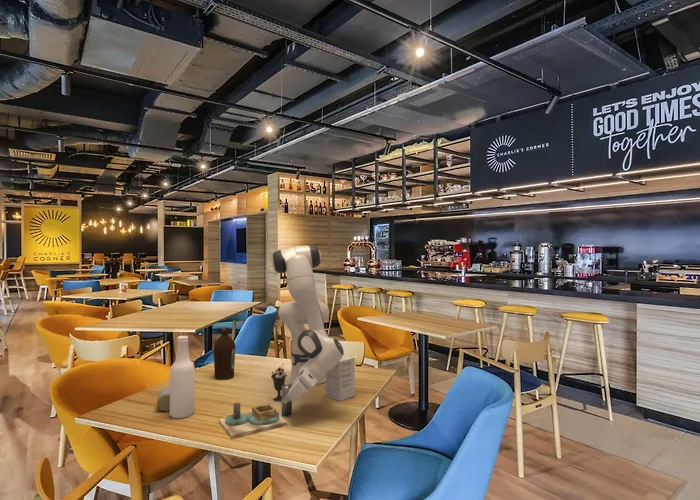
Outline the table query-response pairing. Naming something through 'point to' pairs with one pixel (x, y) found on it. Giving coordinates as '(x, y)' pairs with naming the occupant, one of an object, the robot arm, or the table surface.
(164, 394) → the ceramic mug
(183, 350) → the alcohol
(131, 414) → the table surface
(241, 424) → the gear board
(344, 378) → the supplement box
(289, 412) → the axle
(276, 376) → the sundae
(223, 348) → the olive oil
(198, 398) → the table surface
